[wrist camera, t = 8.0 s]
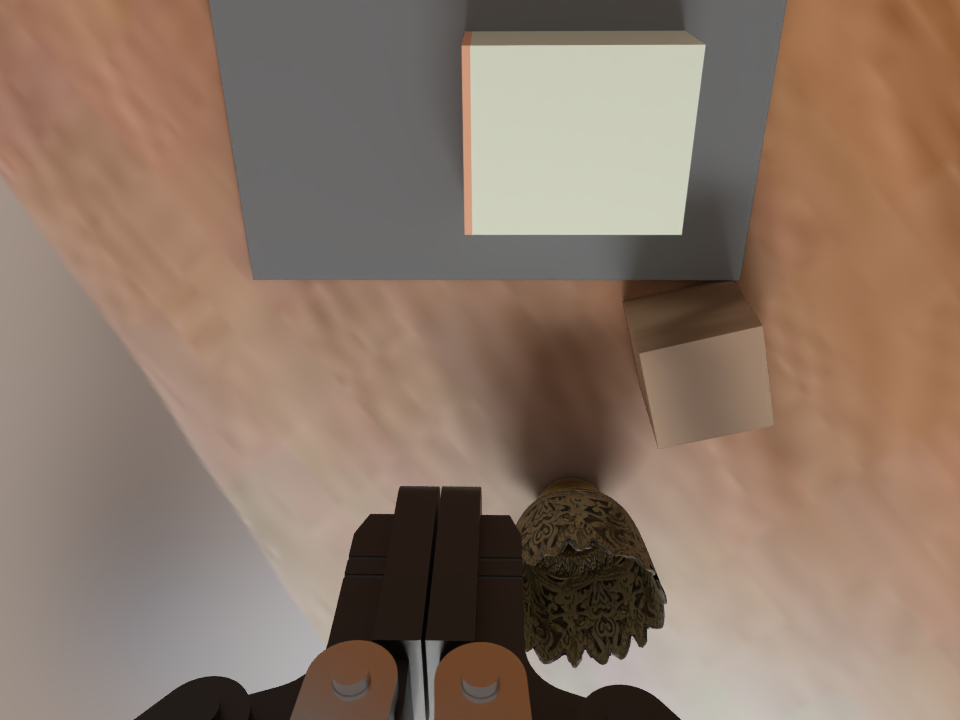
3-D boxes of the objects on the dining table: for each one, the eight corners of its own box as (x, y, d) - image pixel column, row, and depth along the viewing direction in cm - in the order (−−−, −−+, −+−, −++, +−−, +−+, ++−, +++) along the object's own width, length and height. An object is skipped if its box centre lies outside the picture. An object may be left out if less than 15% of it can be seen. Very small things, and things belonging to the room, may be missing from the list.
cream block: (465, 31, 31) (684, 30, 31) (467, 205, 35) (665, 205, 34) (461, 45, 28) (705, 44, 28) (464, 234, 32) (681, 234, 31)
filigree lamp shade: (475, 475, 42) (471, 587, 35) (603, 421, 41) (626, 529, 34) (538, 567, 46) (545, 687, 39) (659, 522, 44) (690, 639, 37)
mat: (790, -44, 30) (794, -43, 30) (737, 276, 36) (739, 280, 36) (205, -40, 30) (202, -40, 30) (255, 276, 37) (253, 279, 36)
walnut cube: (730, 275, 37) (762, 325, 32) (742, 366, 39) (773, 425, 35) (622, 301, 37) (639, 353, 33) (640, 389, 40) (658, 449, 35)
